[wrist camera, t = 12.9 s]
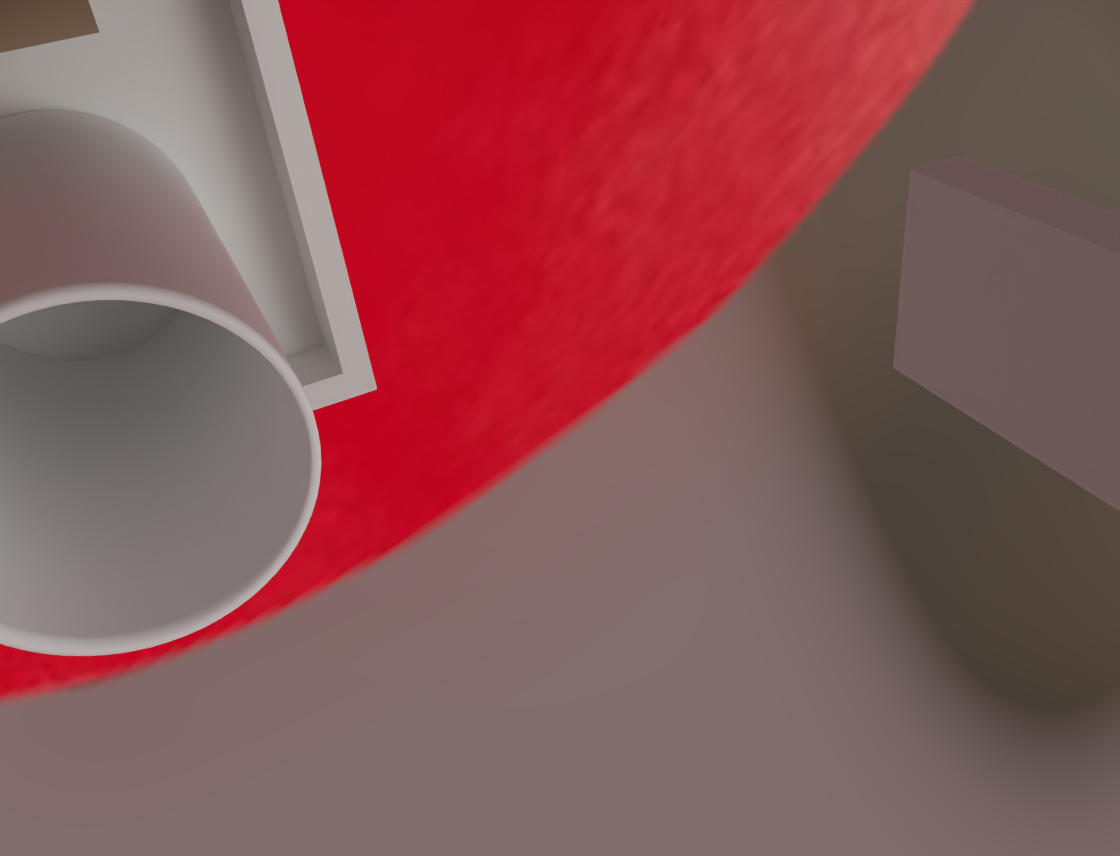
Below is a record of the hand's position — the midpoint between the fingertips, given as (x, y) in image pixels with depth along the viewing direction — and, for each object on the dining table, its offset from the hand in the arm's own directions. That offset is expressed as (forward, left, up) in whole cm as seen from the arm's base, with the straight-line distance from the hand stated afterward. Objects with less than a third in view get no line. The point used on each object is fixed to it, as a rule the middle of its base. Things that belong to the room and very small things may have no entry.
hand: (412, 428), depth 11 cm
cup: (+5, -4, -26) cm, 27 cm away
